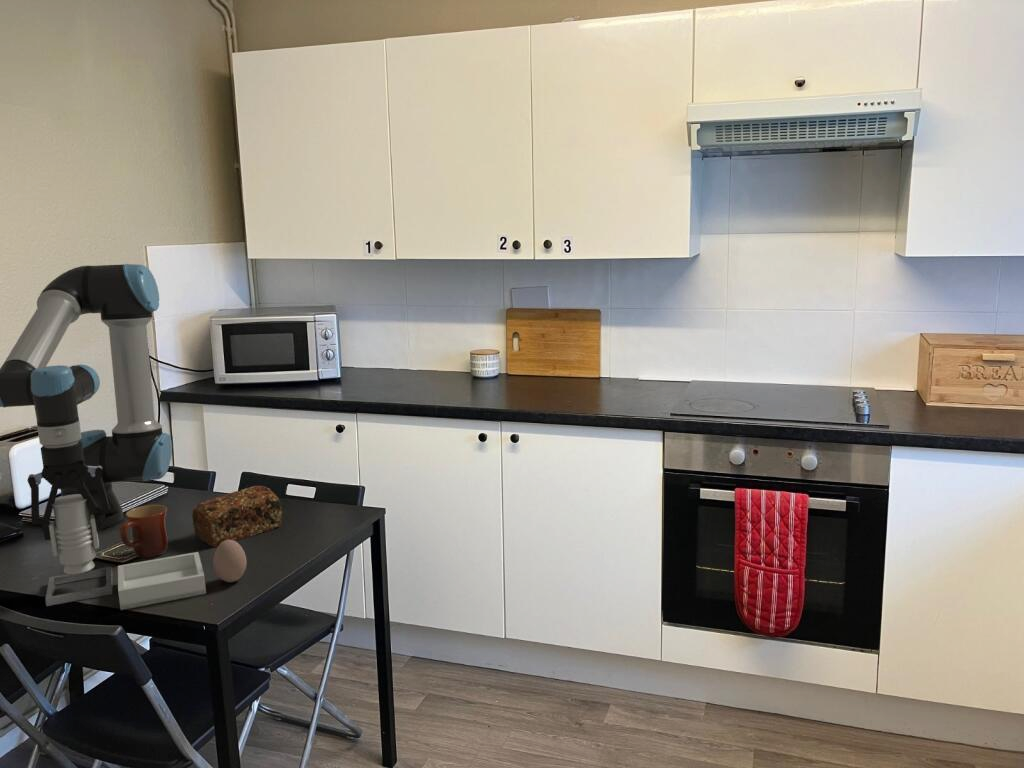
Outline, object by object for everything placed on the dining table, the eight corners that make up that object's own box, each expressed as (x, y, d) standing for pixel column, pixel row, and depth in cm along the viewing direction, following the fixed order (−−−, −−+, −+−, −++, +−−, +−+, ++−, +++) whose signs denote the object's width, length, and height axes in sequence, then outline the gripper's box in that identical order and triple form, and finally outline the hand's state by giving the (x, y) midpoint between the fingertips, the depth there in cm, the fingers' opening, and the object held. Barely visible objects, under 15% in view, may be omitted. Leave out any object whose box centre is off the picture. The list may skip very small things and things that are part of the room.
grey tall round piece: (63, 564, 182) (53, 496, 179) (99, 559, 184) (90, 492, 181) (57, 577, 176) (47, 507, 172) (95, 571, 178) (85, 502, 175)
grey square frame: (50, 583, 183) (49, 577, 183) (112, 573, 188) (111, 566, 188) (46, 606, 173) (45, 599, 172) (112, 594, 177) (111, 587, 177)
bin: (120, 583, 182) (117, 565, 182) (200, 569, 189) (198, 551, 188) (120, 610, 170) (118, 591, 169) (206, 593, 176) (204, 575, 175)
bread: (263, 518, 220) (260, 480, 218) (284, 528, 213) (281, 489, 211) (192, 538, 208) (188, 498, 206) (212, 549, 200) (208, 508, 198)
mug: (150, 544, 204) (145, 503, 202) (180, 548, 201) (175, 506, 199) (110, 563, 193) (105, 520, 191) (140, 568, 190) (135, 524, 188)
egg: (254, 576, 184) (250, 536, 182) (235, 589, 178) (231, 547, 176) (228, 573, 186) (224, 533, 184) (208, 585, 180) (204, 544, 178)
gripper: (2, 454, 167) (20, 565, 172) (115, 440, 175) (128, 547, 180) (6, 445, 174) (23, 552, 178) (115, 432, 181) (128, 535, 186)
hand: (76, 549), depth 179 cm, fingers closed on grey tall round piece, 7 cm apart
